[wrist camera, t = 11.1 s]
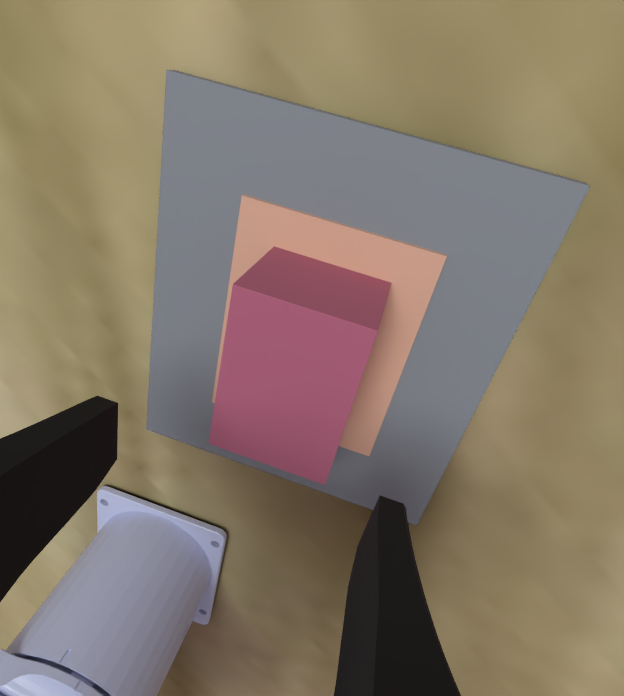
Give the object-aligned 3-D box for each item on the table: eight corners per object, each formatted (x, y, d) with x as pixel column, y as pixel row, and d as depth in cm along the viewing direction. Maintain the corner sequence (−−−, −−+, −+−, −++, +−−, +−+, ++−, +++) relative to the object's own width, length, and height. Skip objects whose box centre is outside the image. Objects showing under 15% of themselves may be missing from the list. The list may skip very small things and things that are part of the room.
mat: (417, 515, 23) (416, 529, 23) (152, 422, 25) (144, 431, 24) (585, 182, 15) (591, 187, 14) (175, 70, 16) (163, 69, 16)
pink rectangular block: (391, 282, 17) (377, 330, 14) (345, 419, 21) (324, 485, 17) (273, 246, 18) (232, 284, 14) (247, 385, 21) (208, 443, 18)
